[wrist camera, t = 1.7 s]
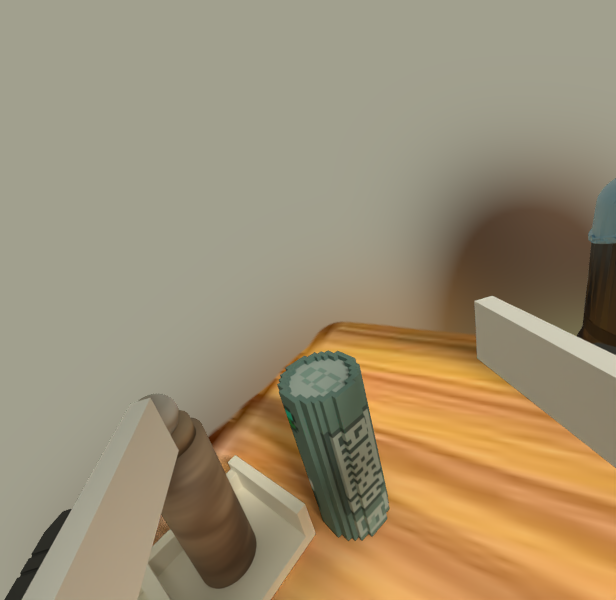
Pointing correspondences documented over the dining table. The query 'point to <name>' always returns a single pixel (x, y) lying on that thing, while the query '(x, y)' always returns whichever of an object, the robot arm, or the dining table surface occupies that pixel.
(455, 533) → the dining table surface
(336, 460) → the can
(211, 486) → the pepper mill
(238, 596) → the caddy
